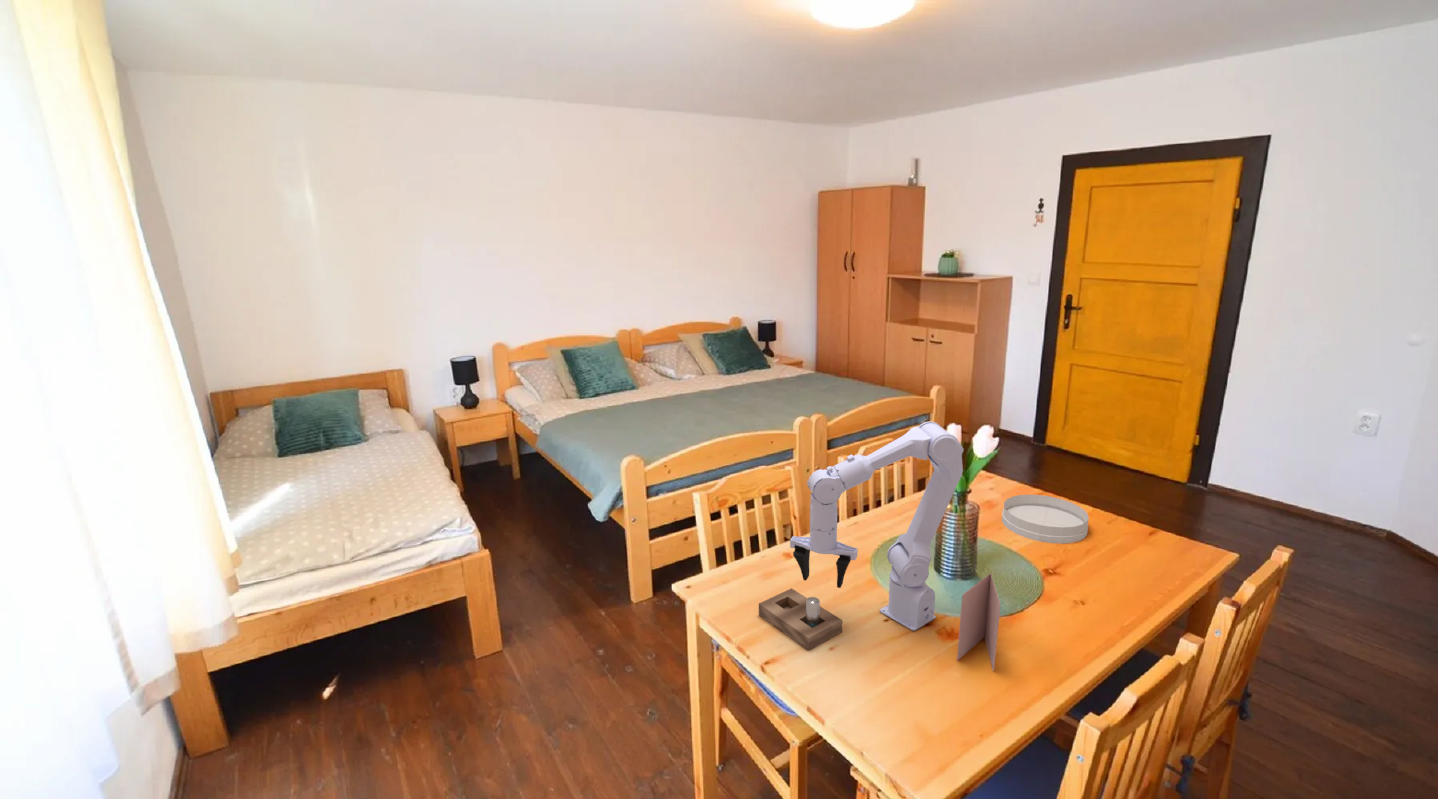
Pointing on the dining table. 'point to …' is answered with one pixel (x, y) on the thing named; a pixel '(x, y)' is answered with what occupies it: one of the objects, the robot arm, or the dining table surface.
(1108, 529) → the dining table surface
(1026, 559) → the dining table surface
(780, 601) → the hole block
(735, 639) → the dining table surface
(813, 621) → the pin
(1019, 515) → the dish
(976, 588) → the greeting card
